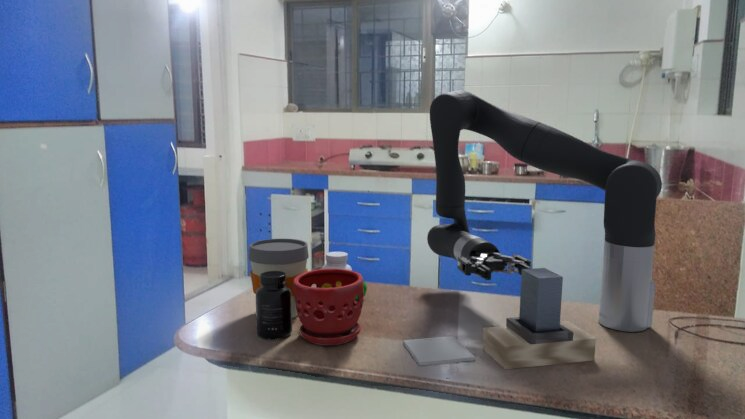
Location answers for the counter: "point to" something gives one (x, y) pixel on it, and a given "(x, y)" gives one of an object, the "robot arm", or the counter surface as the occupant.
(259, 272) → the reusable coffee cup
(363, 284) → the polyhedron
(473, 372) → the counter surface
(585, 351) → the tan piece
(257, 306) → the supplement bottle
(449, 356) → the rubber mat
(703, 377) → the counter surface
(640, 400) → the counter surface
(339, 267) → the supplement bottle
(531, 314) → the brushed metal block
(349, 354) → the counter surface
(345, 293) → the plant pot
